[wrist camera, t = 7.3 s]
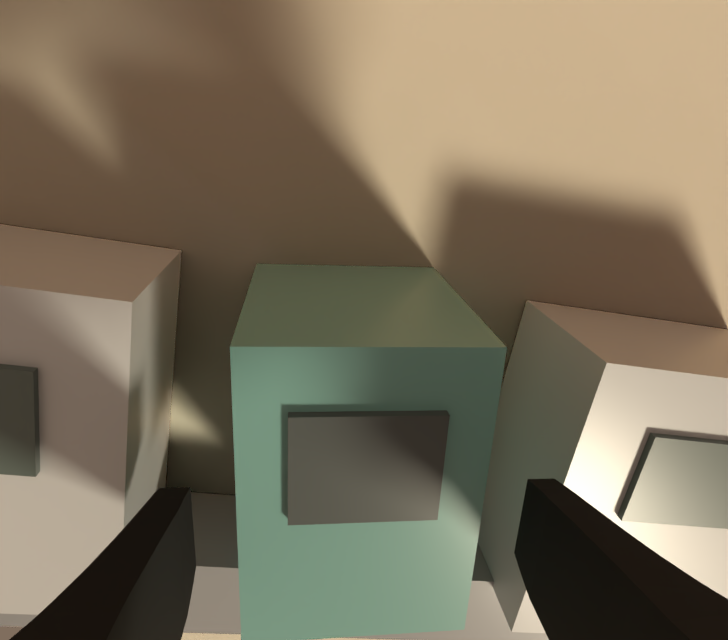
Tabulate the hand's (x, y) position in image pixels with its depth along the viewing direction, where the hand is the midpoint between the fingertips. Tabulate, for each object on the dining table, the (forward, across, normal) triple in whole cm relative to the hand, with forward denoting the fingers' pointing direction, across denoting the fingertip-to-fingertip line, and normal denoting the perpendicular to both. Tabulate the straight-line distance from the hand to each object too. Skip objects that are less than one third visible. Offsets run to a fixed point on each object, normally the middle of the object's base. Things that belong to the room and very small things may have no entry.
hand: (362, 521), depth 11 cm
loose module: (+6, 0, -1) cm, 6 cm away
